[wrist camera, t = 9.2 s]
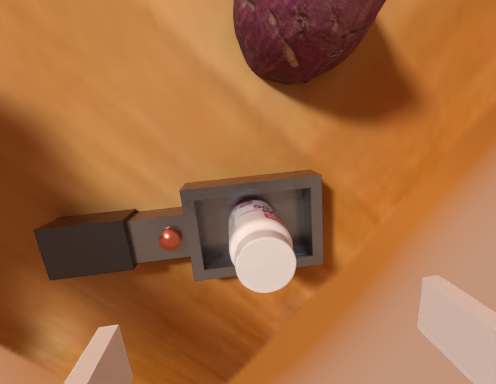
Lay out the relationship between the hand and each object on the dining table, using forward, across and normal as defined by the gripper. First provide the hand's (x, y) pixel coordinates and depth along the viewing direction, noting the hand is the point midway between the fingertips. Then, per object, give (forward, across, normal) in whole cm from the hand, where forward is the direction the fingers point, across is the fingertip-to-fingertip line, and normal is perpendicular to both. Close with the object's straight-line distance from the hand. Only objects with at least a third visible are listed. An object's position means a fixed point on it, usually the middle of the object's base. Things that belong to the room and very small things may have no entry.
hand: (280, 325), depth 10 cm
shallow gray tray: (+14, -5, 0) cm, 15 cm away
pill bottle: (+14, 0, 0) cm, 14 cm away
